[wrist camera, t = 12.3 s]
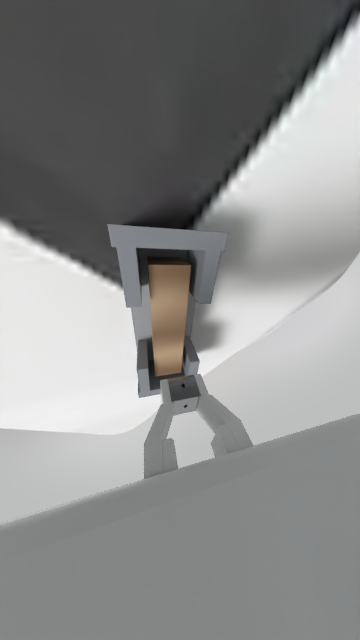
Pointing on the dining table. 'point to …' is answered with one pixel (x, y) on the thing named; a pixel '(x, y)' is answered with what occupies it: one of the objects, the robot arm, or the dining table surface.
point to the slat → (168, 311)
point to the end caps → (132, 256)
